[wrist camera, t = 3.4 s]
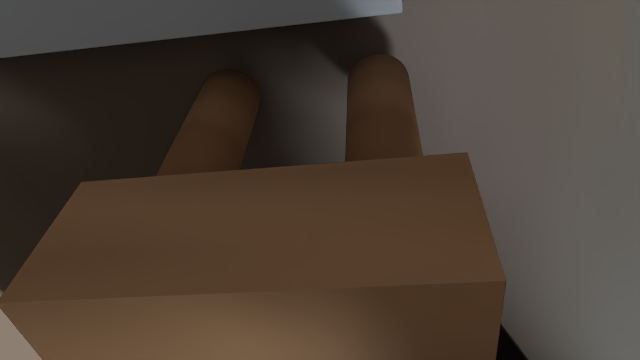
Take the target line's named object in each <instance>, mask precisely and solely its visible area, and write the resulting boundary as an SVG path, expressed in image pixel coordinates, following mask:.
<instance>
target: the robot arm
mask: <svg viewBox="0 0 640 360" xmlns="http://www.w3.org/2000/svg"><path fill="white" fill-rule="evenodd" d="M496 360H528V358H527V357H526V356H525V355H524V353H523V352H522V351H521V349H520V348H519V347H518V345H517V344H516V343H515V342H514V340H513V339H512V338H511V336H510V335H509V334H508V332H507V331H506V330H505V328H504V327H503V326H502V325H501V324H500V331H499V339H498V346H497V354H496Z"/></svg>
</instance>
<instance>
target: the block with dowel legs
mask: <svg viewBox="0 0 640 360" xmlns="http://www.w3.org/2000/svg"><path fill="white" fill-rule="evenodd" d="M259 106H260V93H259V90H258V87H257V86H256V84H255V83H254V82H253V80H252V79H250V78H249V77H248V76H247V75H245V74H243V73H241V72H239V71H235V70H220V71H217V72H214V73H213V74H211V75H210V76H209V77H208V78H207V79H206V81H205V82H204V84H203V86H202V88H201V90H200V92H199V94H198V96H197V98H196V100H195V101H194V103H193V105H192V107H191V109H190V111H189V113H188V115H187V117H186V119H185V121H184V123H183V125H182V126H181V128H180V130H179V132H178V134H177V136H176V138H175V140H174V142H173V144H172V146H171V148H170V150H169V151H168V153H167V155H166V157H165V159H164V161H163V163H162V165H161V167H160V169H159V171H158V173H157V174H156V176H152V177H139V178H126V179H113V180H100V181H87V182H81V183H80V184H79V186H78V187H77V189H76V190H75V192H74V193H73V194H72V196H71V197H70V199H69V200H68V202H67V203H66V204H65V206H64V207H63V209H62V210H61V212H60V213H59V214H58V216H57V217H56V219H55V220H54V222H53V223H52V224H51V226H50V227H49V229H48V230H47V232H46V233H45V234H44V236H43V237H42V239H41V240H40V241H39V243H38V244H37V246H36V247H35V249H34V250H33V251H32V253H31V254H30V256H29V257H28V259H27V260H26V261H25V263H24V264H23V266H22V267H21V269H20V270H19V271H18V273H17V274H16V276H15V277H14V279H13V280H12V281H11V283H10V284H9V286H8V287H7V289H6V290H5V291H4V293H3V294H2V296H1V297H0V308H1V310H2V311H3V312H4V313H5V315H6V316H7V317H8V318H9V319H10V320H11V322H12V323H13V324H14V325H15V327H16V328H17V329H18V330H19V332H20V333H21V334H22V335H23V336H24V338H25V339H26V340H27V341H28V343H29V344H30V345H31V346H32V347H33V349H34V350H35V351H36V352H37V353H38V355H39V356H40V357H41V358H42V360H496V354H497V346H498V339H499V331H500V324H501V316H502V309H503V301H504V293H505V286H506V279H505V275H504V272H503V269H502V265H501V262H500V259H499V256H498V252H497V249H496V246H495V242H494V239H493V236H492V232H491V229H490V226H489V223H488V219H487V216H486V213H485V209H484V206H483V203H482V199H481V196H480V193H479V190H478V186H477V183H476V180H475V176H474V173H473V170H472V166H471V163H470V160H469V156H468V153H454V154H441V155H428V156H423V154H422V148H421V143H420V137H419V131H418V126H417V120H416V115H415V109H414V103H413V98H412V92H411V87H410V81H409V76H408V72H407V70H406V68H405V66H404V65H403V64H402V63H401V62H400V61H399V60H398V59H396V58H395V57H393V56H390V55H386V54H373V55H369V56H366V57H364V58H362V59H361V60H359V61H358V62H357V63H356V64H355V65H354V66H353V68H352V69H351V71H350V74H349V77H348V91H347V122H346V154H345V162H336V163H323V164H310V165H297V166H283V167H270V168H257V169H244V170H240V167H241V164H242V161H243V158H244V154H245V151H246V148H247V145H248V141H249V138H250V135H251V132H252V128H253V125H254V122H255V119H256V115H257V112H258V109H259Z"/></svg>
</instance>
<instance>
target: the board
mask: <svg viewBox="0 0 640 360" xmlns="http://www.w3.org/2000/svg"><path fill="white" fill-rule="evenodd" d="M395 13H402V0H0V58H5V57H14V56H23V55H32V54H41V53H49V52H58V51H67V50H76V49H85V48H94V47H103V46H111V45H120V44H129V43H138V42H147V41H156V40H165V39H173V38H182V37H191V36H200V35H209V34H218V33H227V32H235V31H244V30H253V29H262V28H271V27H280V26H289V25H297V24H306V23H315V22H324V21H333V20H342V19H351V18H359V17H368V16H377V15H386V14H395Z"/></svg>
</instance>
